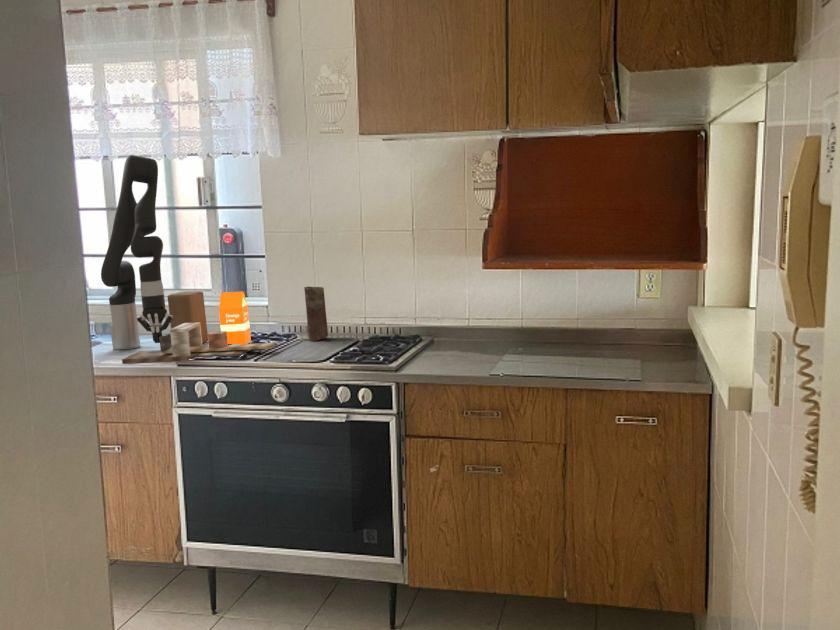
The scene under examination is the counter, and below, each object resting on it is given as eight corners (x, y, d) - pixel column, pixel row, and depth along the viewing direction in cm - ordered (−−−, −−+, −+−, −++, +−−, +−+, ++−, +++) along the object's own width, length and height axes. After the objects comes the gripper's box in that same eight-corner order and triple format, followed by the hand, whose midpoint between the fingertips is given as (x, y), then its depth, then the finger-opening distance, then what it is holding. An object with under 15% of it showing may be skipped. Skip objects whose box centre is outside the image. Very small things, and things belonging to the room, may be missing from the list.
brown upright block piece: (309, 338, 302) (305, 285, 299) (329, 336, 302) (324, 284, 299) (307, 342, 294) (303, 288, 291) (327, 340, 294) (323, 286, 291)
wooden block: (172, 347, 301) (166, 294, 298) (186, 342, 311) (181, 291, 308) (195, 347, 298) (189, 294, 295) (209, 342, 308) (204, 290, 305)
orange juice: (246, 346, 293) (240, 292, 290) (222, 348, 293) (216, 294, 290) (251, 342, 300) (246, 290, 297) (228, 343, 301) (223, 291, 298)
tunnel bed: (122, 363, 276) (118, 332, 274) (139, 355, 289) (136, 325, 288) (240, 358, 272) (237, 326, 270) (252, 349, 286) (249, 319, 284)
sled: (161, 354, 278) (159, 337, 277) (168, 350, 285) (167, 333, 284) (270, 348, 274) (269, 331, 273) (275, 345, 281) (274, 328, 280)
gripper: (129, 296, 275) (135, 345, 277) (166, 294, 274) (172, 343, 276) (138, 293, 282) (144, 341, 285) (174, 291, 281) (180, 339, 284)
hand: (158, 342), depth 281 cm, fingers closed
